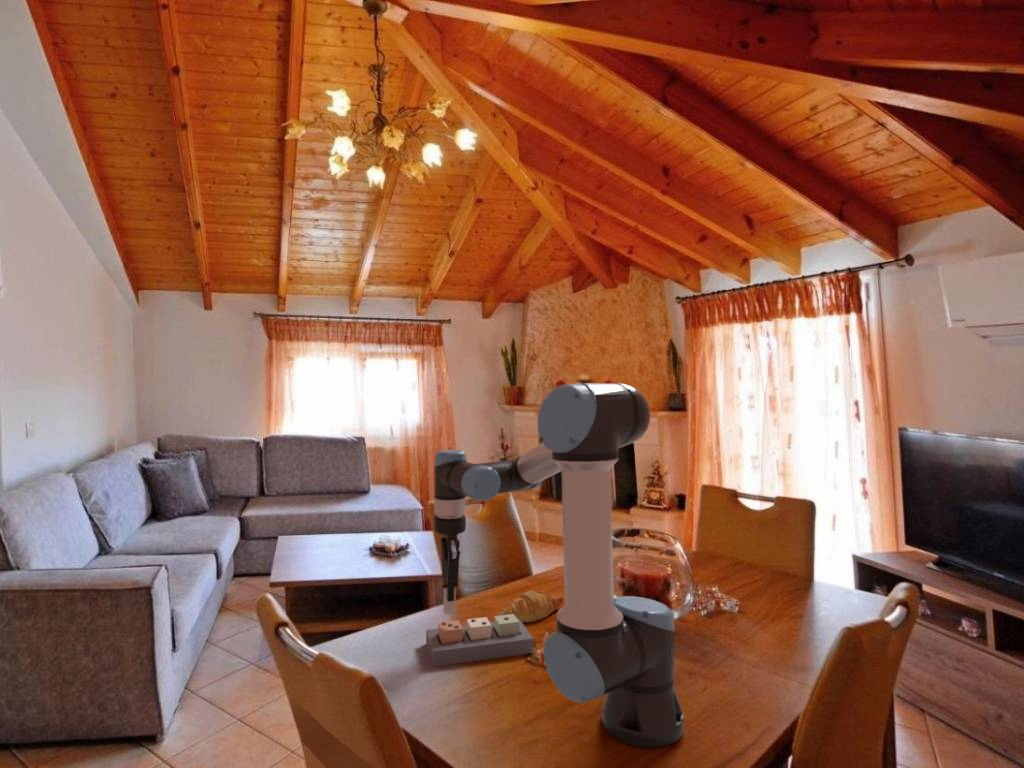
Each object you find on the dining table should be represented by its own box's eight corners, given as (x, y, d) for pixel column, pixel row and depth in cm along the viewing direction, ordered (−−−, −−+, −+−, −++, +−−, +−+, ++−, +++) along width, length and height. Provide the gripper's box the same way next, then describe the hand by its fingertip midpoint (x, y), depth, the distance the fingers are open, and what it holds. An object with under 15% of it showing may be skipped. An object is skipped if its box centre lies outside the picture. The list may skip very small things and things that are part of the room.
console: (533, 653, 140) (533, 638, 140) (433, 666, 133) (433, 651, 133) (519, 632, 151) (519, 618, 151) (426, 643, 145) (426, 629, 144)
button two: (491, 637, 140) (491, 624, 140) (470, 640, 139) (470, 626, 139) (486, 629, 145) (486, 616, 145) (466, 631, 144) (466, 618, 144)
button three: (462, 641, 138) (462, 627, 138) (441, 643, 137) (441, 630, 137) (458, 632, 143) (458, 619, 143) (438, 634, 142) (438, 621, 142)
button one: (519, 634, 142) (519, 621, 142) (499, 636, 141) (499, 623, 141) (513, 625, 147) (513, 613, 147) (494, 628, 146) (494, 615, 146)
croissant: (503, 641, 154) (510, 619, 151) (485, 612, 161) (492, 590, 158) (566, 620, 166) (574, 600, 162) (547, 594, 173) (554, 574, 170)
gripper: (471, 520, 135) (470, 622, 135) (460, 507, 147) (459, 600, 148) (438, 522, 133) (438, 625, 133) (430, 509, 145) (430, 603, 146)
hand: (449, 612), depth 140 cm, fingers closed
